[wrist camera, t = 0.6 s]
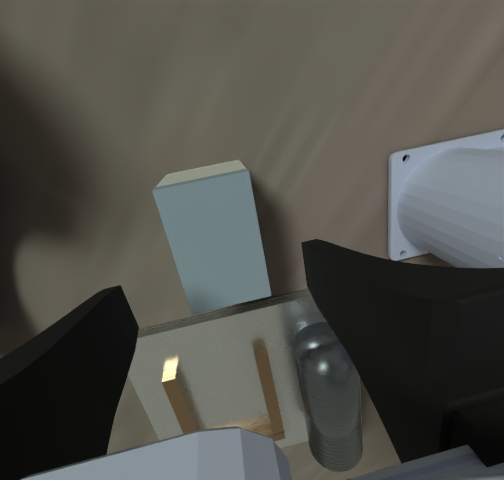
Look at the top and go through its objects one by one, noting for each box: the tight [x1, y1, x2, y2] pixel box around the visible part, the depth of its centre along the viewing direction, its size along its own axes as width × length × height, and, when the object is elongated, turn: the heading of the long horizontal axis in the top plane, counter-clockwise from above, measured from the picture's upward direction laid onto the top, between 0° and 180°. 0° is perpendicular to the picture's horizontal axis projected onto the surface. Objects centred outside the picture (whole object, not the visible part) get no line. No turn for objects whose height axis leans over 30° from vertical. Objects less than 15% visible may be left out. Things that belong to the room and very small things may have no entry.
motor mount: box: [128, 289, 363, 472], centre depth 22 cm, size 18×16×5 cm
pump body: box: [153, 160, 271, 315], centre depth 17 cm, size 4×7×5 cm, turn 10°
